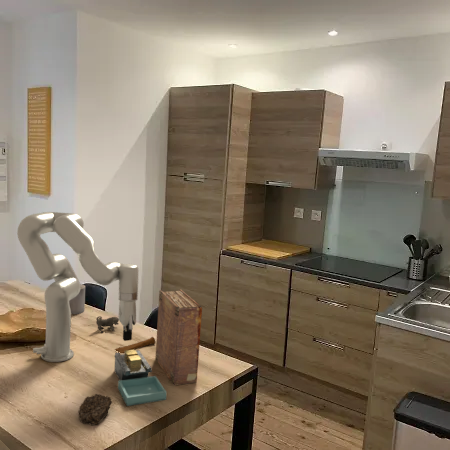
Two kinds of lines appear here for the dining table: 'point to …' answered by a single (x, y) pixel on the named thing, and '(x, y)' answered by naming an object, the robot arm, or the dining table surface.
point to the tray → (141, 390)
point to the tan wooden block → (134, 361)
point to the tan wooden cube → (129, 354)
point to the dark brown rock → (94, 409)
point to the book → (178, 336)
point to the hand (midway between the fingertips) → (127, 339)
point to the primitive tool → (136, 345)
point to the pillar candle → (78, 301)
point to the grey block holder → (130, 373)
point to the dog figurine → (107, 323)
